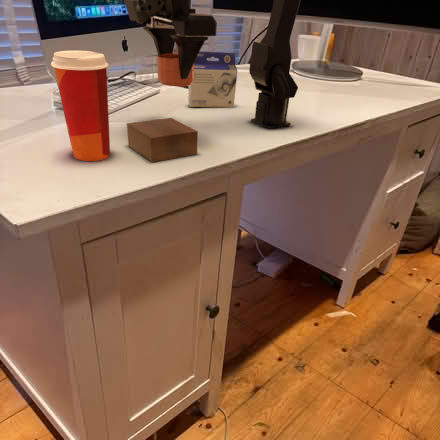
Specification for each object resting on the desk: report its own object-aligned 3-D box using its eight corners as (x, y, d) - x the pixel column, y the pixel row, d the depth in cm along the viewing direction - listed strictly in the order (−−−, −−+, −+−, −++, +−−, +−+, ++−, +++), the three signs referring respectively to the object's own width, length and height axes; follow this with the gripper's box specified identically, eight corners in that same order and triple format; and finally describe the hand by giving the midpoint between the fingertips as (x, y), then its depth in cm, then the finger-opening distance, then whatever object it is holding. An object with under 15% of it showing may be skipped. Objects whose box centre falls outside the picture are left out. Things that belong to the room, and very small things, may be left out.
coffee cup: (96, 143, 75) (85, 48, 66) (126, 155, 71) (118, 56, 62) (55, 154, 70) (36, 52, 61) (85, 167, 66) (70, 60, 57)
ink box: (189, 108, 99) (190, 52, 92) (187, 105, 101) (188, 51, 94) (235, 107, 102) (239, 53, 95) (232, 104, 104) (236, 52, 97)
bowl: (182, 79, 82) (182, 53, 80) (200, 85, 78) (200, 58, 75) (151, 81, 79) (150, 54, 76) (168, 88, 75) (167, 59, 72)
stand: (171, 139, 79) (171, 117, 77) (197, 154, 74) (197, 131, 71) (128, 146, 75) (126, 123, 73) (151, 162, 69) (150, 138, 67)
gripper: (105, -37, 70) (113, 67, 80) (156, -33, 58) (158, 88, 68) (164, -31, 75) (165, 65, 85) (221, -27, 64) (215, 84, 73)
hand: (174, 75), depth 78 cm, fingers closed on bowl, 7 cm apart
